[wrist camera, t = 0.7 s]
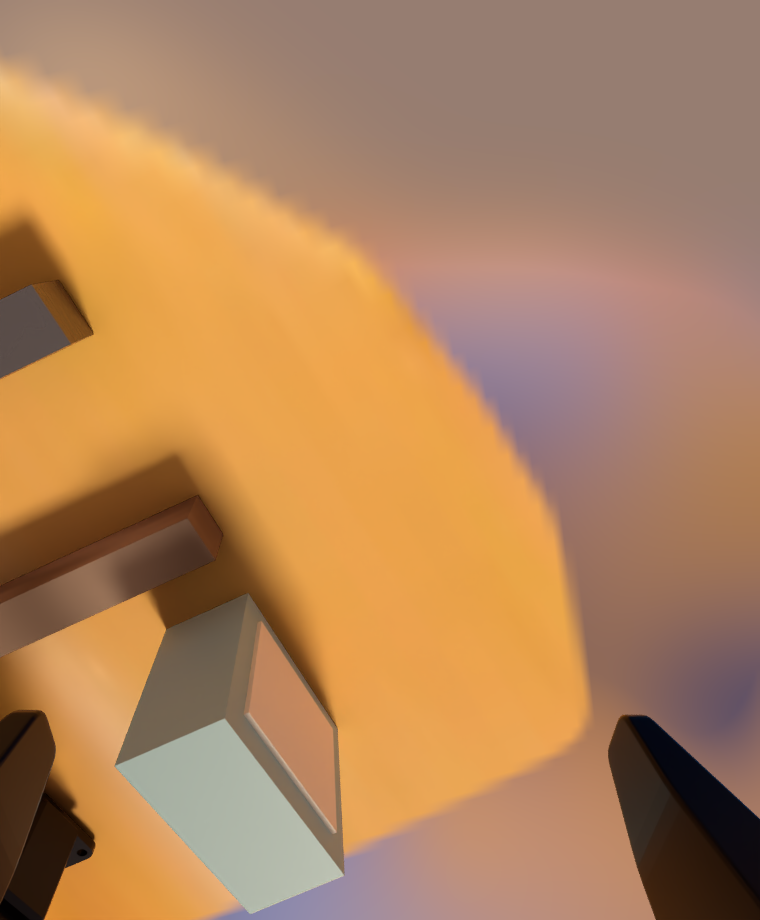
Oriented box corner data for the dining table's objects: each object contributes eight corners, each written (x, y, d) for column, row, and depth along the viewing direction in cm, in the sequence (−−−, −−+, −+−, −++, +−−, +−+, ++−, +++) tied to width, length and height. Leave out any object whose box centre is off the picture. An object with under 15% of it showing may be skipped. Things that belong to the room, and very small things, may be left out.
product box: (264, 758, 28) (250, 914, 22) (166, 628, 25) (114, 766, 18) (341, 726, 28) (349, 873, 21) (252, 590, 25) (230, 716, 18)
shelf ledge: (-90, 676, 24) (-124, 712, 22) (-125, 643, 23) (-163, 678, 22) (223, 534, 23) (215, 560, 21) (197, 495, 23) (187, 518, 21)
